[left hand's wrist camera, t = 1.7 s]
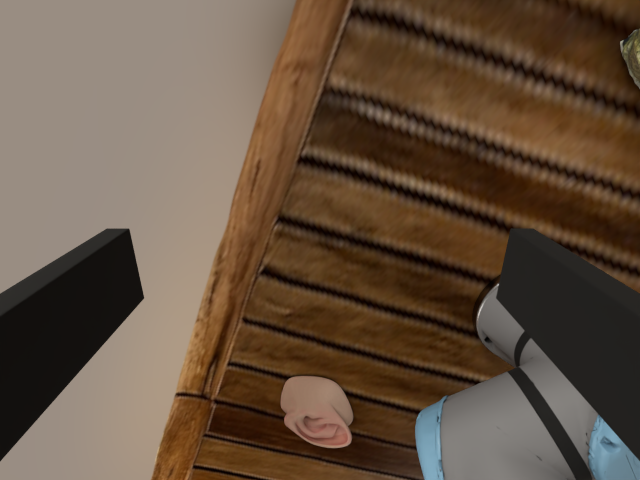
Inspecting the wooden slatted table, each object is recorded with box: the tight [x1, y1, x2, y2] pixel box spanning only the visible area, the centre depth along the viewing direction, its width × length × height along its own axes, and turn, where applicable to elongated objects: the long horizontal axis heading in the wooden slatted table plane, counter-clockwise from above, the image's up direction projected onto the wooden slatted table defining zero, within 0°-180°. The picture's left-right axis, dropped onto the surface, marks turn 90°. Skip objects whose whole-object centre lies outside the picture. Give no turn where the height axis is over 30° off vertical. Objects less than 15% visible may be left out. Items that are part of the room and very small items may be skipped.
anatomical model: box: [281, 376, 353, 448], centre depth 57 cm, size 13×4×12 cm
